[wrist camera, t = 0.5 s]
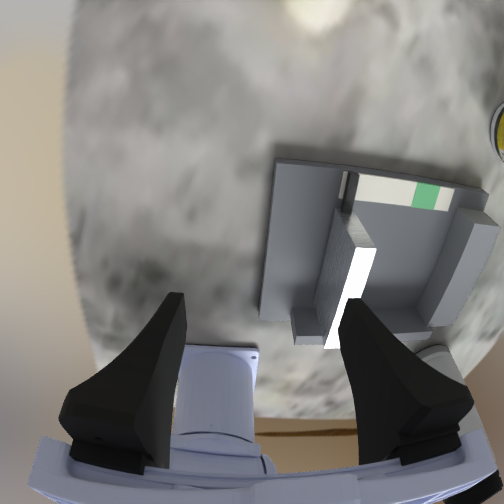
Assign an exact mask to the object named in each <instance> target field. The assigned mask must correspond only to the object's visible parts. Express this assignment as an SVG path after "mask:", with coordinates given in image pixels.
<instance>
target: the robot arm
mask: <svg viewBox="0 0 504 504" xmlns="http://www.w3.org/2000/svg"><path fill="white" fill-rule="evenodd" d="M186 330H187V322H186V312H185V301H184V293H176V292H170V293H168V294H167V296H166V298H165V299H164V301H163V302H162V304H161V305H160V307H159V308H158V310H157V311H156V313H155V314H154V315H153V317H152V318H151V319H150V321H149V322H148V324H147V325H146V326H145V327H144V329H143V330H142V331H141V332H140V333H139V334H138V336H137V337H136V338H135V339H134V340H133V341H132V342H131V344H130V345H129V346H128V347H127V348H126V349H125V350H124V351H123V352H122V353H121V354H120V355H118V356H117V357H116V358H115V359H114V360H113V361H112V362H111V363H109V364H108V365H107V366H106V367H104V368H103V369H102V370H100V371H99V372H98V373H96V374H95V375H94V376H92V377H91V378H89V379H88V380H86V381H84V382H83V383H81V384H79V385H78V386H76V387H74V388H72V389H71V390H69V392H68V394H67V396H66V398H65V400H64V403H63V406H62V409H61V412H60V415H59V422H60V424H61V425H62V426H63V428H64V429H65V430H66V431H67V433H68V434H69V435H70V436H71V437H72V438H73V442H72V446H71V445H69V444H67V443H65V442H63V441H59V440H56V439H53V438H49V437H46V436H41V439H40V442H39V445H38V449H37V452H36V455H35V458H34V462H33V466H32V469H31V473H30V477H29V481H28V486H29V487H30V488H32V489H33V490H35V491H37V492H38V493H40V494H42V495H44V496H45V497H47V498H49V499H50V500H52V501H54V502H56V503H58V504H432V503H435V502H438V501H440V500H443V499H445V498H448V497H450V496H453V495H455V494H458V493H460V492H462V491H465V490H467V489H469V488H470V487H472V486H474V485H475V484H477V483H478V482H480V481H482V480H483V479H485V478H486V477H488V476H489V475H491V474H492V473H494V472H495V471H496V470H497V468H496V465H495V462H494V459H493V457H492V454H491V451H490V448H489V446H488V443H487V440H486V438H485V435H484V433H483V430H482V429H481V428H480V429H477V430H474V431H471V432H469V433H466V434H463V435H462V436H460V437H459V435H458V433H457V432H458V431H459V430H460V426H459V424H458V423H459V422H460V421H461V420H462V419H463V418H464V417H465V416H466V415H467V414H468V413H469V412H470V410H471V409H472V407H473V405H474V400H473V398H472V396H471V393H470V391H469V389H468V387H467V386H465V385H463V384H461V383H459V382H457V381H455V380H453V379H451V378H449V377H447V376H446V375H444V374H442V373H441V372H439V371H437V370H436V369H434V368H433V367H431V366H430V365H428V364H427V363H426V362H424V361H423V360H421V359H420V358H419V357H418V356H416V355H415V354H414V353H413V352H412V351H410V350H409V349H408V348H407V347H406V346H405V345H404V344H403V343H401V342H400V341H399V340H398V339H397V338H396V337H395V336H394V335H393V334H392V333H391V332H390V331H389V329H388V328H387V327H386V326H385V325H384V324H383V323H382V322H381V321H380V320H379V319H378V317H377V316H376V315H375V314H374V313H373V312H372V311H371V309H370V308H369V307H368V306H367V305H366V304H365V303H364V301H363V300H362V299H361V298H347V301H346V304H345V307H344V310H343V314H342V317H341V320H340V323H339V326H338V328H337V332H338V339H339V345H340V350H341V354H342V357H343V361H344V364H345V368H346V371H347V375H348V378H349V382H350V385H351V389H352V393H353V398H354V405H355V412H356V421H357V430H358V445H359V466H352V467H346V468H338V469H330V470H320V471H310V472H298V473H278V474H277V470H276V467H275V465H274V463H273V461H272V460H271V459H270V458H269V456H267V455H266V454H261V451H260V444H255V443H254V408H253V395H254V388H255V382H256V375H257V368H258V361H259V354H260V353H259V350H258V349H257V348H237V347H215V346H198V345H185V340H186ZM178 377H179V386H178V393H177V400H176V408H175V416H174V423H173V432H172V434H171V425H172V412H173V402H174V394H175V388H176V383H177V379H178Z"/></svg>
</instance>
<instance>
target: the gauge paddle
mask: <svg viewBox="0 0 504 504" xmlns="http://www.w3.org/2000/svg"><path fill="white" fill-rule="evenodd" d="M359 177H360V175H359V174H358V173H357V172H349V171H348V175H347V180H346V185H345V190H344V195H343V200H342V205H341V208H336V207H335V210H334V215H333V220H332V225H331V229H330V234H329V239H328V243H327V248H326V252H325V256H324V261H323V265H322V269H321V273H320V277H319V282H318V286H317V290H316V294H315V298H314V306H315V310H316V314H317V318H318V322H319V327H320V331H321V335H322V340H323V344H324V348H340V345H339V339H338V332H337V328H338V326H339V323H340V320H341V317H342V314H343V310H344V307H345V304H346V301H347V298H360V297H361V294H362V291H363V288H364V286H365V283H366V280H367V277H368V274H369V271H370V268H371V265H372V262H373V259H374V255H375V252H376V249H377V248H376V247H375V245H374V243H373V242H372V240H371V238H370V237H369V235H368V233H367V232H366V230H365V228H364V227H363V225H362V224H361V222H360V220H359V219H358V217H357V215H356V214H355V212H354V211H353V205H354V200H355V196H356V191H357V187H358V182H359Z"/></svg>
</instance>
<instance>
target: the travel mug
mask: <svg viewBox="0 0 504 504" xmlns="http://www.w3.org/2000/svg"><path fill="white" fill-rule="evenodd" d="M415 355H416V356H418V357H419V358H420V359H421V360H423V361H424V362H426V363H427V364H428V365H430V366H431V367H433V368H434V369H436V370H437V371H439V372H441V373H442V374H444V375H446V376H447V377H449V378H451V379H453V380H455V381H457V382H459V383H461V384H463V385H465V382H464V380H463V378H462V376H461V374H460V372H459V370H458V367H457V365H456V363H455V361H454V359H453V358H452V355H451V353H450V351H449V349H448V348H447V347H445V346H443V345H435V346H431V347H428V348H425V349H423V350H421V351H420V352H418V353H417V354H415ZM465 386H466V385H465ZM458 424H459V426H460V430H459V431H458V432H457V433H458V435H459V437H460V436H462V435H463V434H466V433H469V432H471V431H474V430H477V429H480V428H481V429H482V430H483V433H484V435H485V438H486V440H487V443H488V446H489V448H490V451H491V454H492V457H493V459H494V462H495V464H496V460H495V457H494V454H493V451H492V448H491V446H490V443H489V440H488V438H487V435H486V432H485V430H484V427H483V425H482V422H481V420H480V417H479V415H478V412H477V410H476V408H475V405H473V407H472V409H471V410H470V412H469V413H468V414H467V415H466V416H465V417H464V418H463V419H462V420H461V421H460V422H459V423H458ZM496 468H497V470H496V471H495V472H494V473H492V474H491V475H489V476H488V477H486V478H485V479H483V480H482V481H480V482H478V483H477V484H475V485H474V486H472V487H470V488H469V489H467V490H465V491H462V492H460V493H458V494H455V495H453V496H450V497H448V498H445V499H443V502H444V503H445V504H481V503H483V502H484V501H486V500H487V499H489V498H490V497H492V496H493V495H495V494H496V493H498V492H499V491H500V490H502V487H503V484H502V480H501V477H499V471H498V466H497V465H496Z"/></svg>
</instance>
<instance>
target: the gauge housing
mask: <svg viewBox="0 0 504 504" xmlns="http://www.w3.org/2000/svg"><path fill="white" fill-rule="evenodd" d="M348 171H349V172H357V173H358V174H359V175H360V177H359V182H358V187H357V191H356V196H355V200H354V205H353V211H354V212H355V214H356V215H357V217H358V219H359V220H360V222H361V224H362V225H363V227H364V228H365V230H366V232H367V233H368V235H369V237H370V238H371V240H372V242H373V243H374V245H375V247H376V248H377V249H376V252H375V255H374V259H373V262H372V265H371V268H370V271H369V274H368V277H367V280H366V283H365V286H364V288H363V291H362V294H361V297H360V298H361V299H362V300H363V301H364V303H365V304H366V305H367V306H368V307H369V308H370V309H371V311H372V312H373V313H374V314H375V315H376V316H377V317H378V319H379V320H380V321H381V322H382V323H383V324H384V325H385V326H386V327H387V328H388V329H389V331H390V332H391V333H392V334H393V335H394V336H395V337H396V338H397V339H398V340H399V341H413V340H425V339H429V337H430V336H431V334H432V332H433V330H432V328H431V327H438V326H450V325H453V323H454V321H455V320H456V318H457V316H458V314H459V313H460V311H461V309H462V307H463V305H464V304H465V302H466V300H467V298H468V296H469V294H470V292H471V291H472V289H473V287H474V285H475V283H476V281H477V279H478V277H479V275H480V273H481V271H482V268H483V266H484V264H485V262H486V260H487V258H488V256H489V253H490V251H491V249H492V246H493V244H494V242H495V239H496V237H497V235H498V232H499V230H500V226H499V225H498V224H497V223H496V222H494V221H493V220H492V219H491V218H490V217H489V216H488V215H487V214H486V213H484V212H483V211H484V208H485V205H486V202H487V199H488V196H489V194H488V193H486V192H485V191H484V190H483V189H479V188H475V187H470V186H466V185H461V184H456V183H451V182H446V181H441V180H436V179H431V178H426V177H420V176H414V175H409V174H403V173H397V172H390V171H384V170H377V169H370V168H363V167H355V166H348V165H339V164H331V163H322V162H312V161H302V160H291V159H278V158H275V167H274V177H273V186H272V196H271V205H270V214H269V224H268V233H267V242H266V251H265V260H264V269H263V277H262V286H261V295H260V303H259V320H263V321H291V325H292V332H293V338H294V345H324V344H323V340H322V335H321V331H320V327H319V322H318V318H317V314H316V310H315V306H314V298H315V294H316V290H317V286H318V282H319V277H320V273H321V269H322V265H323V261H324V256H325V252H326V248H327V243H328V239H329V234H330V229H331V225H332V220H333V215H334V210H335V207H336V208H341V205H342V200H343V195H344V190H345V185H346V180H347V175H348Z"/></svg>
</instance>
